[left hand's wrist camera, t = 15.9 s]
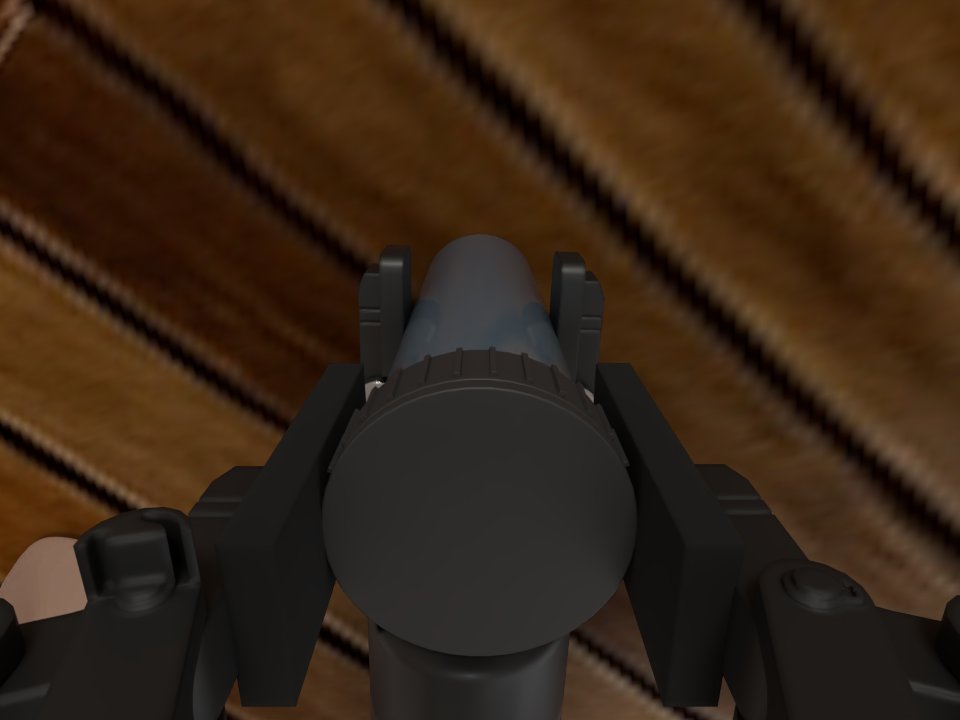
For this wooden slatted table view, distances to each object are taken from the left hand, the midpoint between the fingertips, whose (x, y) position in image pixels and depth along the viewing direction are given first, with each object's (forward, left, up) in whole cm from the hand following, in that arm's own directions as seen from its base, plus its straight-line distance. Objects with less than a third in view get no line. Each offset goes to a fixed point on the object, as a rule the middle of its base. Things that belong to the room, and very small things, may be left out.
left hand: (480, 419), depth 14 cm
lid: (0, 0, +4) cm, 4 cm away
